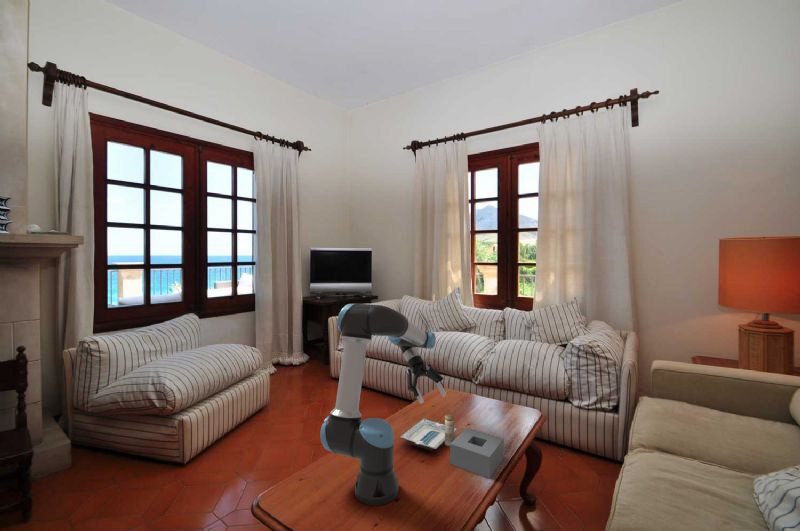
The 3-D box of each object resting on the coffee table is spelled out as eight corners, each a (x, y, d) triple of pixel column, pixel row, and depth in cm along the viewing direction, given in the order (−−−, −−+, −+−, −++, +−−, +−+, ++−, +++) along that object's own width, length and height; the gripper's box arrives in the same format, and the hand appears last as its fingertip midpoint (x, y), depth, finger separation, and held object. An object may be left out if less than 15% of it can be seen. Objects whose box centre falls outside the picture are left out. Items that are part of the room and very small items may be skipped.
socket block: (489, 478, 128) (489, 456, 128) (450, 464, 137) (450, 443, 137) (503, 458, 141) (503, 438, 141) (466, 446, 150) (466, 427, 150)
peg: (451, 447, 149) (451, 419, 149) (443, 444, 152) (443, 417, 151) (455, 443, 153) (455, 416, 152) (447, 440, 155) (447, 413, 155)
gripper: (429, 358, 182) (449, 396, 170) (389, 367, 168) (408, 409, 156) (436, 350, 178) (457, 388, 166) (396, 359, 163) (415, 401, 151)
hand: (433, 399), depth 161 cm, fingers open, 13 cm apart
